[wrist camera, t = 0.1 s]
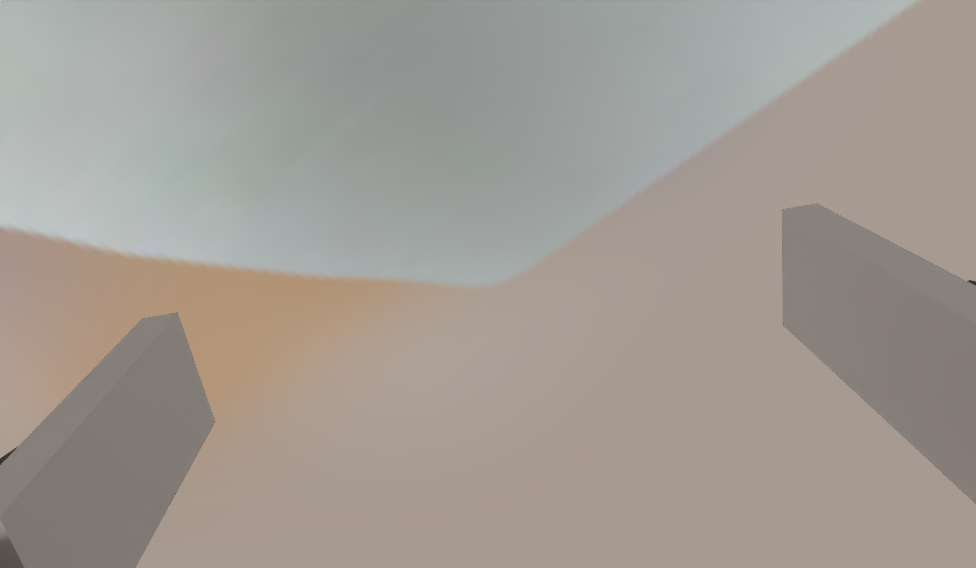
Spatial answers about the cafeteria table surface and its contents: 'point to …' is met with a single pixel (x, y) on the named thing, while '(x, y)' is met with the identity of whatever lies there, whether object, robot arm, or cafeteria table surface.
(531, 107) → the cafeteria table surface
